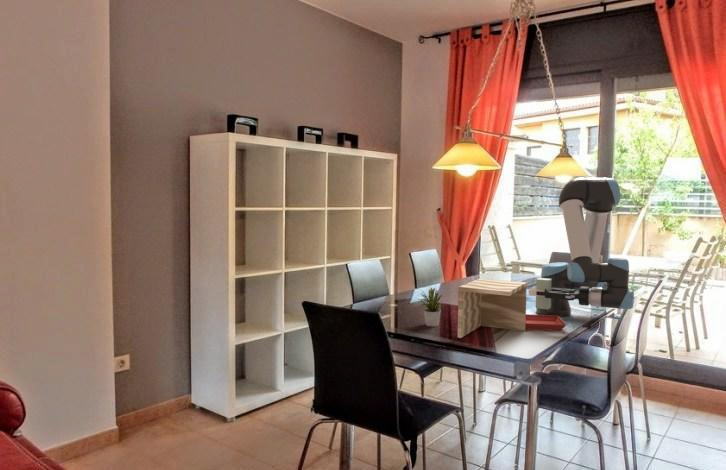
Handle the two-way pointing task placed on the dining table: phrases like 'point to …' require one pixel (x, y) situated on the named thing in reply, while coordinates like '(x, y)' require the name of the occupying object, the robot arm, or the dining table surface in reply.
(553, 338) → the dining table surface
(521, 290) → the cubby box
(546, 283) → the tall block
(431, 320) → the house plant
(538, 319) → the plant saucer
